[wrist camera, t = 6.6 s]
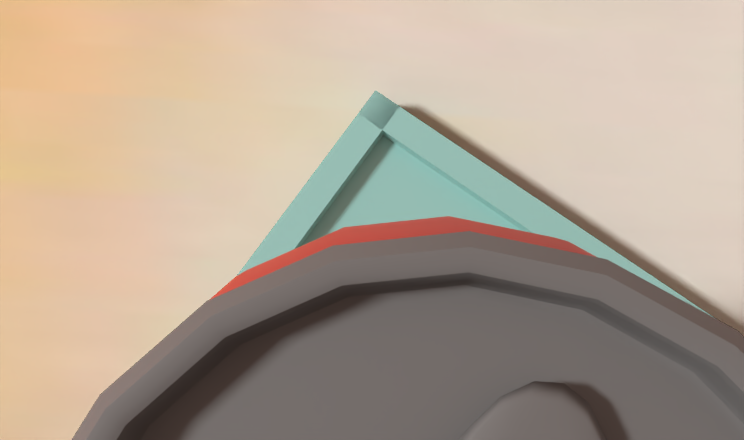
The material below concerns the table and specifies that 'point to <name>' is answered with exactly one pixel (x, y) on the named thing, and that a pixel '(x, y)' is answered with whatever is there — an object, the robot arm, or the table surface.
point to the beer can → (434, 348)
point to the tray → (415, 189)
